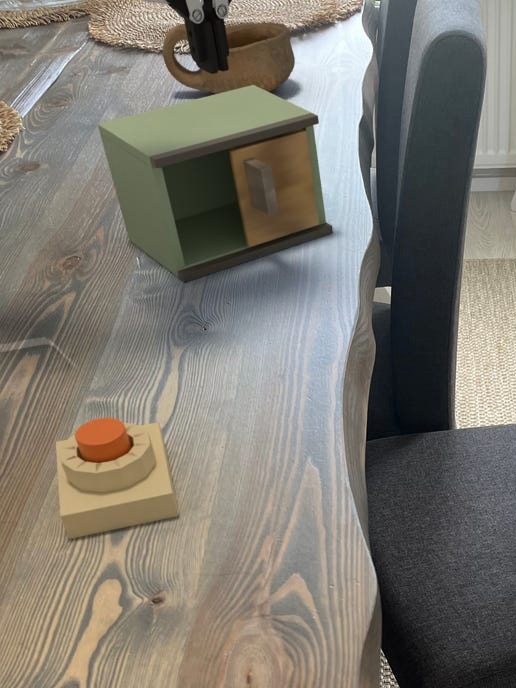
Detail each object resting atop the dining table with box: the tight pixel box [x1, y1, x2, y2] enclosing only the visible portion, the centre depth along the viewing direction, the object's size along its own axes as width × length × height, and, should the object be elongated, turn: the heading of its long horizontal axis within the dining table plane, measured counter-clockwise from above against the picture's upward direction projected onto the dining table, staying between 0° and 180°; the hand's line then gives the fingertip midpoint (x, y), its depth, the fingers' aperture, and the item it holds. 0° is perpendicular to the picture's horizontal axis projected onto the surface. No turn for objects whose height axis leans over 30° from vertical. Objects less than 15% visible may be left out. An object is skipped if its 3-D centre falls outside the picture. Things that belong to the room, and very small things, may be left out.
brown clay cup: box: [162, 22, 296, 95], centre depth 141 cm, size 18×14×10 cm
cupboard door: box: [229, 130, 319, 247], centre depth 103 cm, size 9×4×10 cm, turn 128°
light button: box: [74, 417, 131, 463], centre depth 75 cm, size 4×4×2 cm
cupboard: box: [97, 85, 334, 283], centre depth 106 cm, size 18×13×12 cm
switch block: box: [55, 421, 180, 540], centre depth 76 cm, size 10×8×4 cm
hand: (212, 68), depth 90 cm, fingers closed
